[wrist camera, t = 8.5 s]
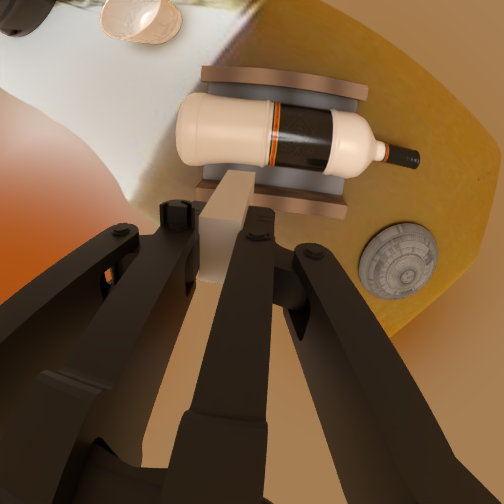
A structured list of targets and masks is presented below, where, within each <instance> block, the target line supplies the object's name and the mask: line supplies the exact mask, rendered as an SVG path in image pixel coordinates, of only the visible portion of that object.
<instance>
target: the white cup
mask: <svg viewBox="0 0 504 504" xmlns="http://www.w3.org/2000/svg"><path fill="white" fill-rule="evenodd" d="M181 22H182V17H181V14H180V11H179V10H178V9H177V8H176V7H175V6H174V4H173V3H172V2H171V1H170V0H107V1H106V2H105V4H104V6H103V8H102V11H101V15H100V24H101V27H102V30H103V31H104V32H105V34H107V35H108V36H109V37H112V38H115V39H121V40H127V41H133V42H139V43H150V44H155V45H156V44H160V43H165V42H167V41H168V40H170V39H171V38H173V37H174V36H175V35H176V33H177V32H178V31H179V29H180V27H181Z"/></svg>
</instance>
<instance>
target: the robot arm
mask: <svg viewBox="0 0 504 504" xmlns="http://www.w3.org/2000/svg"><path fill="white" fill-rule="evenodd" d="M55 1H56V0H0V32H1V33H3V34H5V35H7V36H12V37H21V36H25V35H27V34H29V33H30V32H32V31H33V30H34V29H36V28H37V27H38V26H39V25H40V24H41V23H42V21H43V20H44V19H45V18H46V16H47V15H48V13H49V12H50V10H51V9H52V7H53V5H54V3H55ZM255 173H256V172H247V171H237V170H228V171H227V172H226V174H225V176H224V177H223V179H222V180H221V182H220V183H219V185H218V186H217V188H216V190H215V191H214V193H213V194H212V196H211V198H210V199H209V201H208V202H203V201H193V202H190V201H187V200H170V201H166V202H163V203H162V204H160V225H161V226H160V227H159V228H158V230H157V231H156V232H155V233H154V234H153V235H139V230H138V227H137V226H135V225H133V224H127V223H119V224H117V225H113V226H111V227H109V228H108V229H106V230H104V231H103V232H101V233H100V234H98V235H96V236H95V237H93V238H92V239H90V240H89V241H87V242H86V243H84V244H83V245H82V246H80V247H78V248H77V249H75V250H74V251H72V252H71V253H69V254H68V255H67V256H65V257H64V258H62V259H61V260H59V261H58V262H57V263H55V264H54V265H52V266H51V267H50V268H48V269H47V270H45V271H44V272H43V273H41V274H40V275H39V276H37V277H36V278H35V279H33V280H32V281H31V282H29V283H28V284H27V285H25V286H24V287H23V288H21V289H20V290H19V291H18V292H16V293H15V294H14V295H13V296H11V297H10V298H9V299H8V300H6V301H5V302H4V303H3V304H1V305H0V504H273V503H272V502H270V501H269V500H268V499H266V498H264V497H263V490H264V478H265V464H266V452H267V436H268V424H267V422H266V404H267V390H268V389H267V388H268V373H269V358H270V341H271V340H270V339H271V322H272V303H273V304H276V305H279V306H282V307H283V314H284V317H285V320H286V323H287V326H288V329H289V331H290V334H291V337H292V340H293V343H294V346H295V349H296V352H297V355H298V358H299V361H300V363H301V366H302V369H303V372H304V375H305V378H306V381H307V384H308V387H309V390H310V393H311V396H312V399H313V402H314V405H315V408H316V411H317V414H318V417H319V420H320V422H321V425H322V429H323V432H324V435H325V438H326V441H327V444H328V447H329V450H330V453H331V456H332V459H333V462H334V465H335V468H336V471H337V474H338V477H339V480H340V483H341V486H342V489H343V492H344V495H345V498H346V500H347V502H348V504H501V502H500V501H499V500H498V499H497V498H496V497H495V496H494V495H492V494H491V493H490V492H489V491H488V490H487V488H485V487H484V485H483V484H482V483H481V482H480V481H478V479H477V478H475V476H474V475H472V473H471V472H470V471H468V470H467V469H466V468H465V466H463V464H462V463H461V462H460V461H459V460H458V459H457V458H456V457H455V456H454V454H453V452H452V449H451V447H450V446H449V443H448V442H447V440H446V438H445V436H444V434H443V432H442V430H441V428H440V426H439V424H438V422H437V421H436V418H435V417H434V415H433V413H432V411H431V409H430V408H429V406H428V404H427V402H426V400H425V398H424V397H423V395H422V393H421V391H420V390H419V388H418V386H417V384H416V382H415V381H414V379H413V377H412V376H411V374H410V372H409V370H408V369H407V367H406V365H405V364H404V362H403V360H402V359H401V357H400V356H399V354H398V352H397V351H396V349H395V347H394V346H393V344H392V343H391V341H390V339H389V338H388V336H387V334H386V333H385V331H384V330H383V328H382V326H381V325H380V323H379V322H378V320H377V319H376V317H375V315H374V314H373V312H372V311H371V309H370V308H369V306H368V305H367V303H366V302H365V300H364V299H363V297H362V296H361V294H360V293H359V291H358V290H357V288H356V287H355V285H354V284H353V282H352V281H351V279H350V278H349V276H348V275H347V274H346V272H345V271H344V269H343V268H342V266H341V265H340V263H339V262H338V261H337V259H336V258H335V256H334V255H333V254H332V252H331V251H330V250H329V249H327V248H325V247H323V246H322V245H319V244H316V243H303V244H300V245H297V246H296V248H295V250H294V251H291V250H288V249H285V248H283V247H281V246H279V245H278V244H277V243H276V242H275V237H274V221H275V212H274V211H273V210H272V209H271V208H268V207H259V206H252V204H253V193H254V183H255ZM109 268H110V272H111V276H112V279H111V280H110V281H109V282H107V281H106V278H105V274H104V272H105V271H107V270H108V269H109ZM198 270H199V281H204V282H212V283H219V284H223V288H222V291H221V295H220V298H219V302H218V306H217V309H216V313H215V316H214V320H213V324H212V328H211V331H210V335H209V339H208V342H207V346H206V350H205V354H204V357H203V361H202V365H201V369H200V373H199V376H198V380H197V384H196V388H195V392H194V396H193V400H192V403H191V406H190V408H189V410H187V411H185V412H184V414H183V416H182V418H181V421H180V424H179V427H178V431H177V435H176V439H175V443H174V447H173V450H172V455H171V458H170V462H169V466H168V468H142V467H141V463H142V441H143V437H144V433H145V431H146V427H147V424H148V421H149V418H150V415H151V412H152V409H153V406H154V403H155V400H156V397H157V394H158V391H159V388H160V385H161V382H162V379H163V376H164V374H165V371H166V368H167V365H168V362H169V359H170V356H171V354H172V351H173V348H174V345H175V342H176V340H177V337H178V334H179V332H180V329H181V326H182V324H183V321H184V318H185V315H186V312H187V310H188V307H189V305H190V302H191V299H192V297H193V294H194V291H195V289H196V275H197V273H198Z"/></svg>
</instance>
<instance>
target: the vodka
mask: <svg viewBox="0 0 504 504" xmlns="http://www.w3.org/2000/svg"><path fill="white" fill-rule="evenodd" d="M176 146H177V151H178V154H179V157H180V158H181V160H182V162H183V163H185V164H187V165H189V166H202V165H206V164H216V163H236V164H248V165H255V166H260V167H264V166H265V165H268V166H272V167H281V168H290V169H298V170H306V171H313V172H320V173H323V174H325V175H329V174H331V175H335V176H338V177H342V178H352V177H357V176H358V175H360V174H361V173H362V172H363V171H364V170H365V169H366V168H367V167H368V165H369V164H370V163H371V162H372V161H373V160H375V161H381V162H386V163H390V164H395V165H399V166H403V167H407V168H412V169H416V168H417V167H418V166H419V163H420V154H419V152H418V151H417V150H412V149H408V148H404V147H400V146H396V145H392V144H388V143H384V142H381V141H377V140H375V137H374V135H373V133H372V130H371V128H370V126H369V124H368V122H367V121H366V120H365V119H364V118H363V117H361V116H360V115H358V114H356V113H353V112H344V111H337V110H335V109H330V110H329V109H323V108H317V107H311V106H304V105H297V104H289V103H280V102H274V103H272V102H271V101H270V100H266V101H265V100H247V99H239V98H230V97H223V96H215V95H210V94H207V93H192V94H190V95H188V96H187V97H186V98H185V99H184V101H183V102H182V104H181V106H180V109H179V112H178V117H177V123H176Z"/></svg>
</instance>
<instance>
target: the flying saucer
mask: <svg viewBox="0 0 504 504" xmlns="http://www.w3.org/2000/svg"><path fill="white" fill-rule="evenodd" d="M437 259H438V248H437V244H436V241H435V239H434V237H433V235H432V234H431V233H430V232H429V231H428V230H427V229H425V228H424V227H422V226H419V225H416V224H409V223H406V224H399V225H395V226H392V227H390V228H388V229H386V230H384V231H382V232H381V233H379V234H378V235H377V236H376V237H375V238H374V239H373V240H372V241H371V242H370V243H369V244H368V246H367V247H366V249H365V250H364V252H363V255H362V257H361V260H360V265H359V276H360V280H361V283H362V285H363V286H364V288H365V289H366V290H367V291H368V292H369V293H370V294H372V295H374V296H376V297H378V298H381V299H386V300H397V299H402V298H406V297H408V296H411V295H413V294H414V293H416V292H417V291H419V290H420V289H421V288H422V287H423V286H424V285H425V284H426V283H427V282H428V281H429V279H430V278H431V276H432V274H433V272H434V270H435V267H436V264H437Z"/></svg>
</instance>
